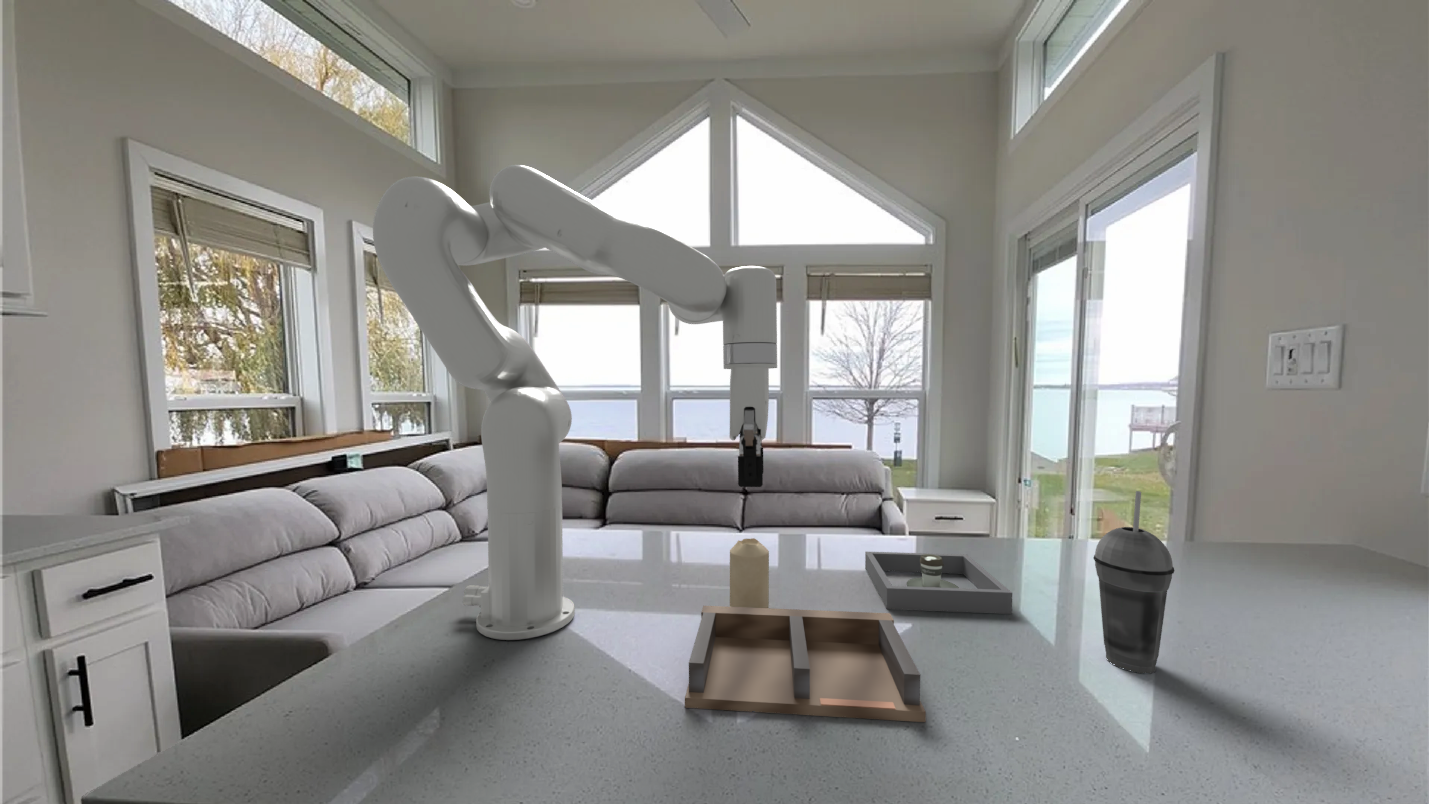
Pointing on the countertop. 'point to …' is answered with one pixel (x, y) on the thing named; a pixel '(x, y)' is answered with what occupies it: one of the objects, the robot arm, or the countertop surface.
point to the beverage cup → (1133, 594)
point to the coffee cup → (931, 573)
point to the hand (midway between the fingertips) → (751, 479)
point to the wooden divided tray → (803, 664)
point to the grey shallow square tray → (979, 600)
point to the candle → (749, 574)
